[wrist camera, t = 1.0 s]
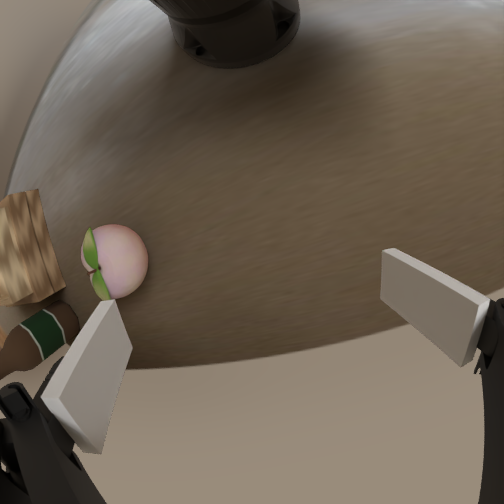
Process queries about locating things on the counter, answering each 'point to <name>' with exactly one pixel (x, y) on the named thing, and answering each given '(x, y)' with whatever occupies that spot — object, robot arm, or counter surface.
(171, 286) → the counter surface
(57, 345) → the beer bottle
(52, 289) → the base crate
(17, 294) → the top crate
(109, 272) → the decorative fruit
